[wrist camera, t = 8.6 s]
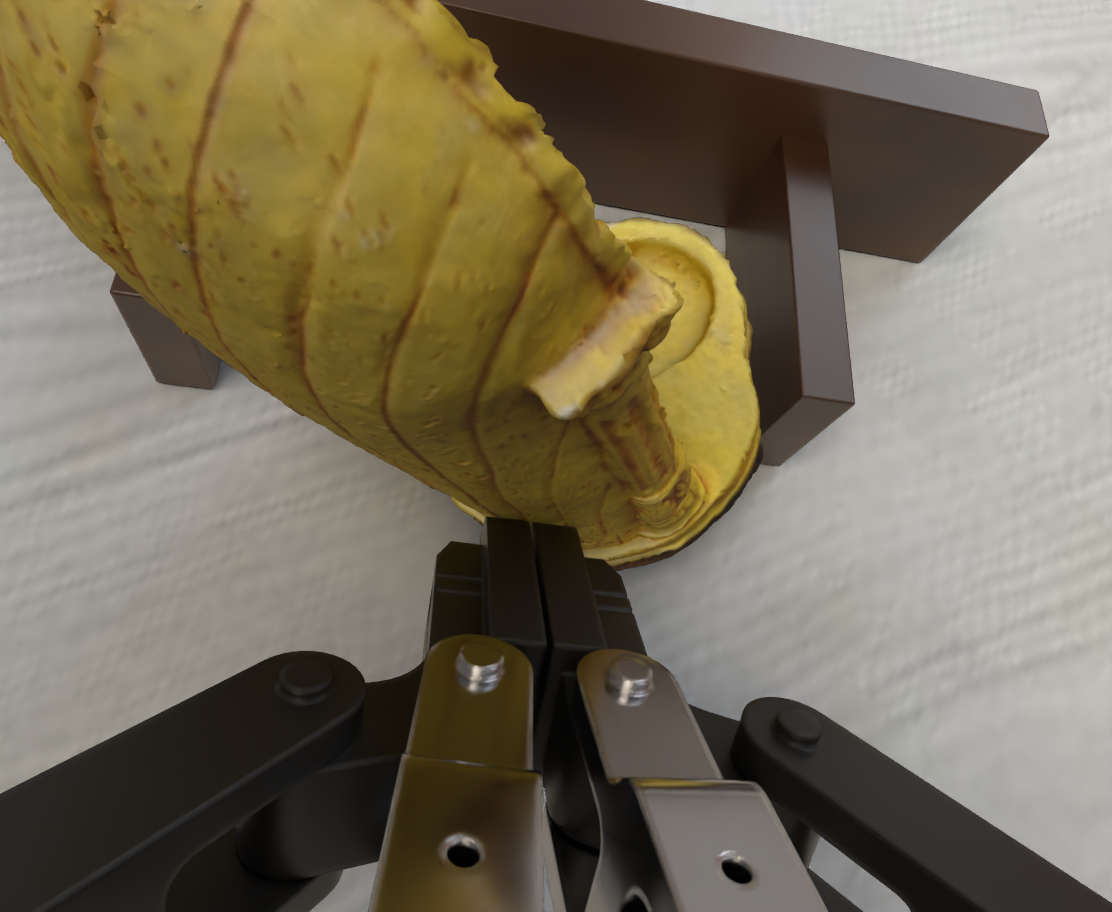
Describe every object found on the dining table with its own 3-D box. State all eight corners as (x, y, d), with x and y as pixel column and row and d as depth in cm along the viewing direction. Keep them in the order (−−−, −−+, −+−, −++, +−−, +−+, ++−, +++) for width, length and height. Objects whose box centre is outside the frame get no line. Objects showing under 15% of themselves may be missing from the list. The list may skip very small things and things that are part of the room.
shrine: (273, 719, 15) (-469, 159, 2) (172, 356, 18) (-478, -1041, 4) (770, 533, 19) (1728, -115, 6) (632, 252, 21) (1067, -685, 8)
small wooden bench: (-92, 349, 17) (-264, 184, 12) (35, 52, 20) (-64, -165, 16) (955, 490, 21) (1118, 405, 16) (914, 222, 24) (1039, 89, 20)
